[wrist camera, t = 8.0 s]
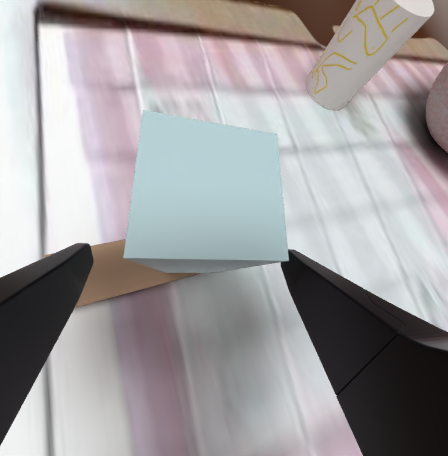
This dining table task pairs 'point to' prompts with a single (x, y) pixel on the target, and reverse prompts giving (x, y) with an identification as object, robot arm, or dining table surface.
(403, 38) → the white cylinder
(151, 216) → the post
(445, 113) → the plant pot
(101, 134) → the dining table surface
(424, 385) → the robot arm
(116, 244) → the beam
